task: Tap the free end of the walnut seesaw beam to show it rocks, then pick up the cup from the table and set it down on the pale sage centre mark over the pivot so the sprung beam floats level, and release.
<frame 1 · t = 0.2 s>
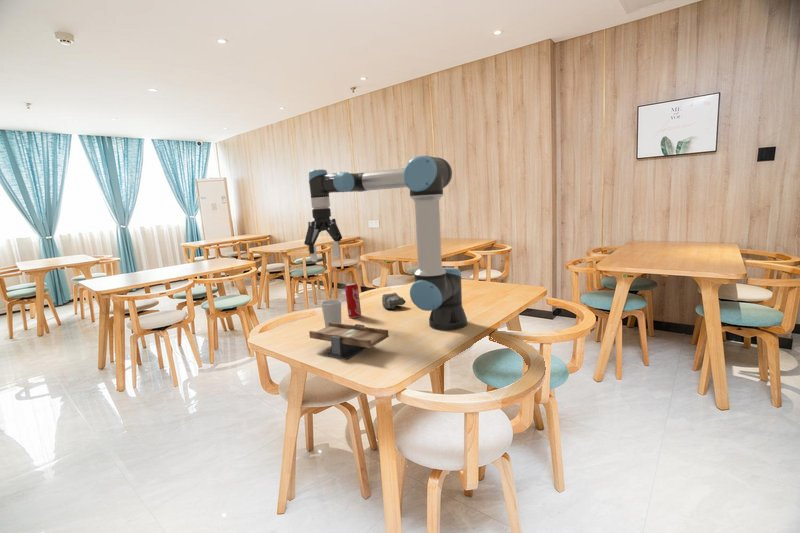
hand: (325, 258, 171), 28 cm above the table, fingers open, 13 cm apart
cup: (333, 331, 163), on the table
pivot stand: (349, 349, 141), on the table
rock: (392, 308, 192), on the table
beverage can: (354, 316, 181), on the table
beam: (348, 334, 141), point 6 cm above the table, hinge at 0.0°
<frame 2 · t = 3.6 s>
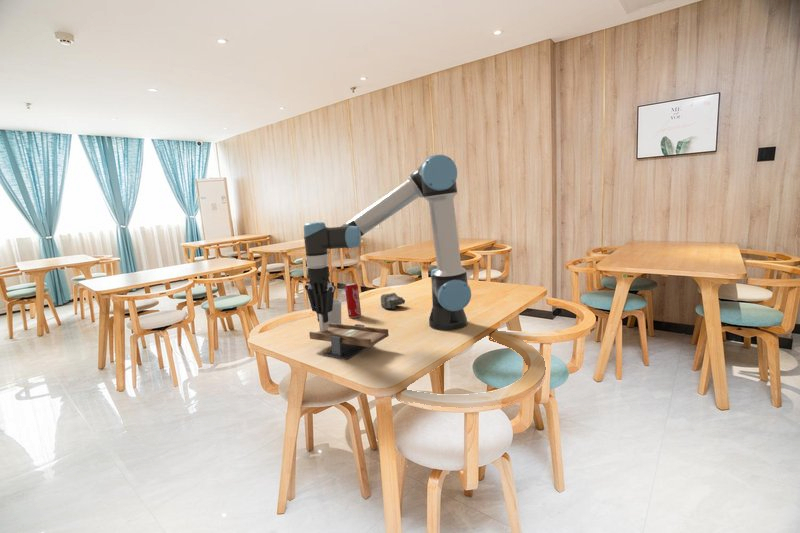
hand: (324, 330, 146), 6 cm above the table, fingers closed
beam: (348, 334, 141), point 6 cm above the table, hinge at 1.4°, touching gripper
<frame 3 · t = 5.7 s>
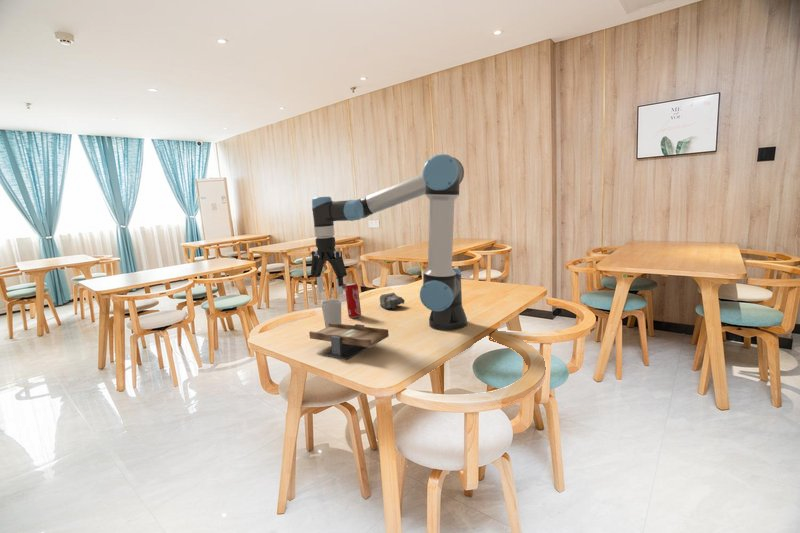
hand: (330, 293, 160), 16 cm above the table, fingers open, 9 cm apart
beam: (348, 334, 141), point 6 cm above the table, hinge at 0.9°
everything else where it was.
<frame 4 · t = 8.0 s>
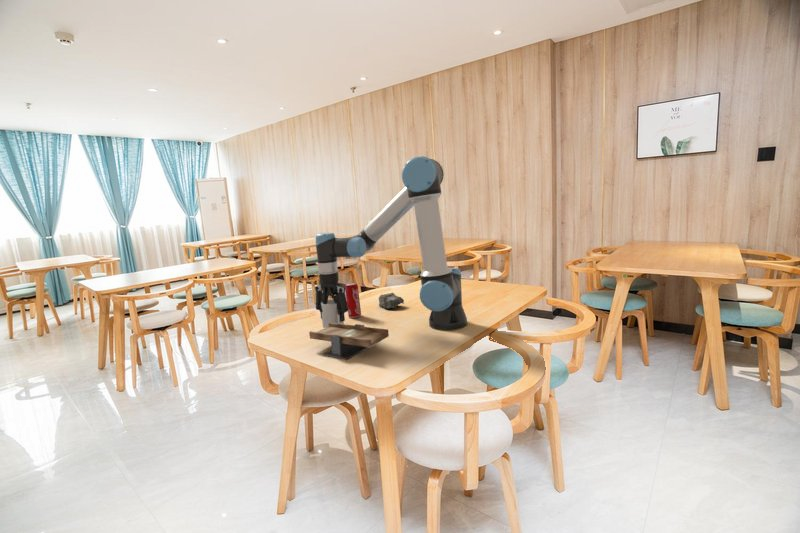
hand: (333, 327, 163), 1 cm above the table, fingers closed on cup, 7 cm apart
cup: (333, 331, 163), on the table, touching gripper
everything else where it was.
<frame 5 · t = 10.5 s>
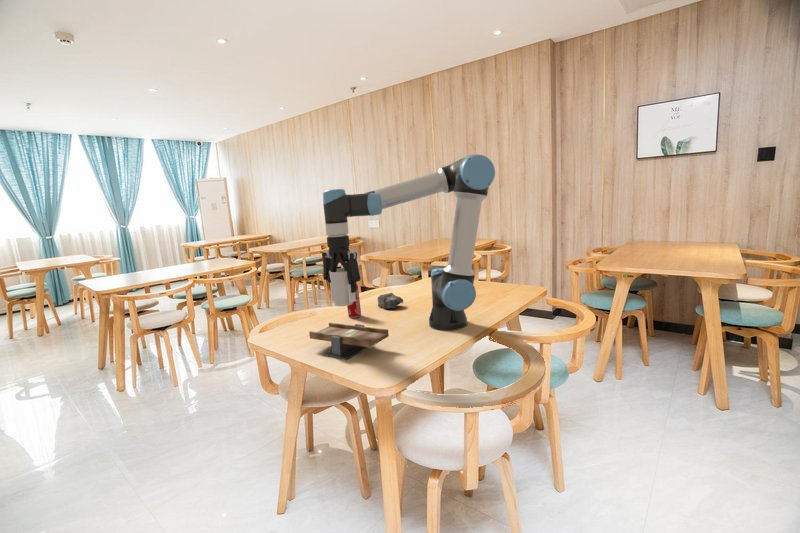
hand: (343, 300, 141), 17 cm above the table, fingers closed on cup, 7 cm apart
cup: (343, 304, 141), point 16 cm above the table, touching gripper
when the fingers open (7 cm above the table, at t = 12.9 s): cup stays where it is, resting on beam.
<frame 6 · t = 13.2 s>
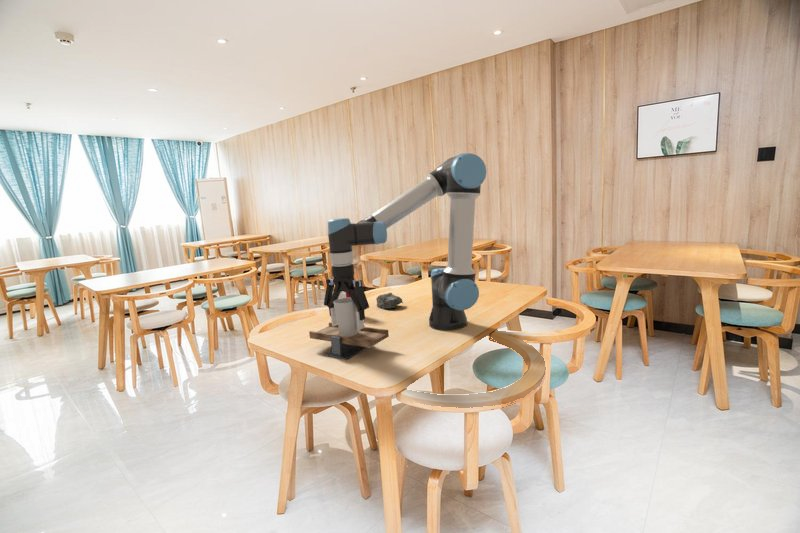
hand: (347, 327, 140), 8 cm above the table, fingers open, 10 cm apart
cup: (348, 334, 140), point 6 cm above the table, touching beam
beam: (348, 334, 141), point 6 cm above the table, hinge at 0.5°, touching cup
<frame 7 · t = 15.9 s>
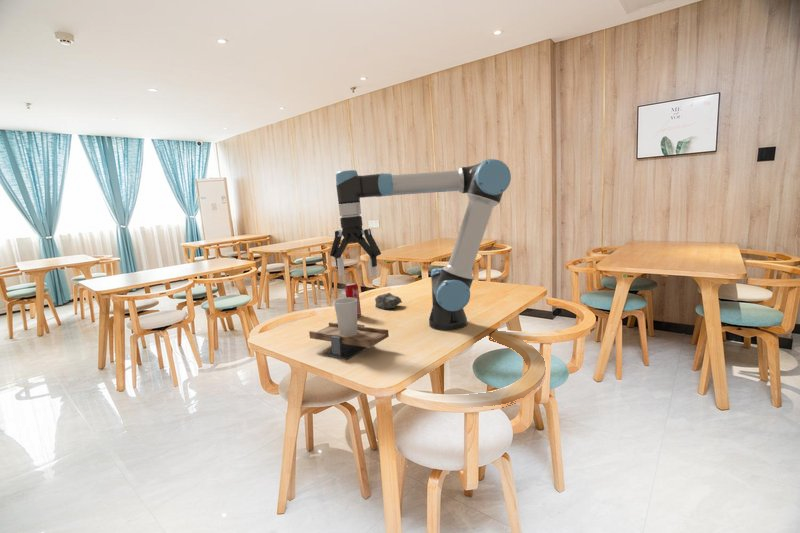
hand: (357, 275, 144), 25 cm above the table, fingers open, 13 cm apart
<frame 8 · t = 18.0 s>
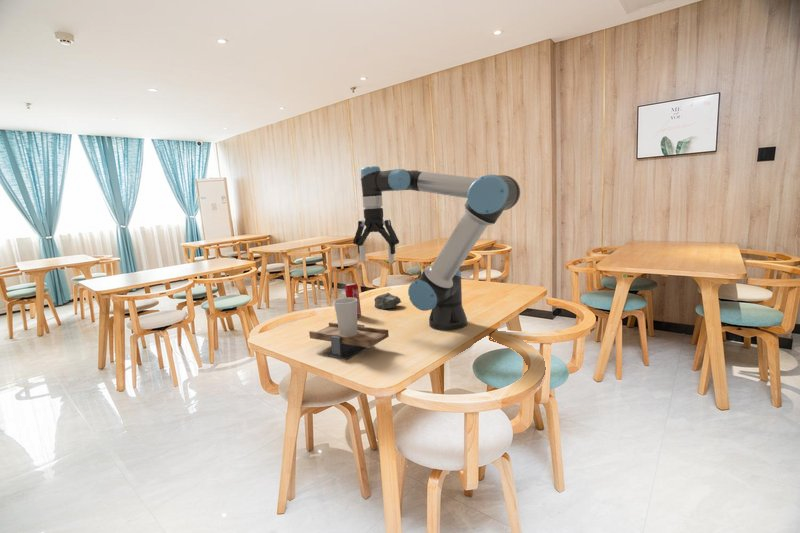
hand: (377, 262, 159), 27 cm above the table, fingers open, 13 cm apart
at the end: cup 0.1 cm off-centre on the beam, point 0.5 cm above the beam's base; beam at +0° (first picture: +0°); cup tilted 0° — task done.
